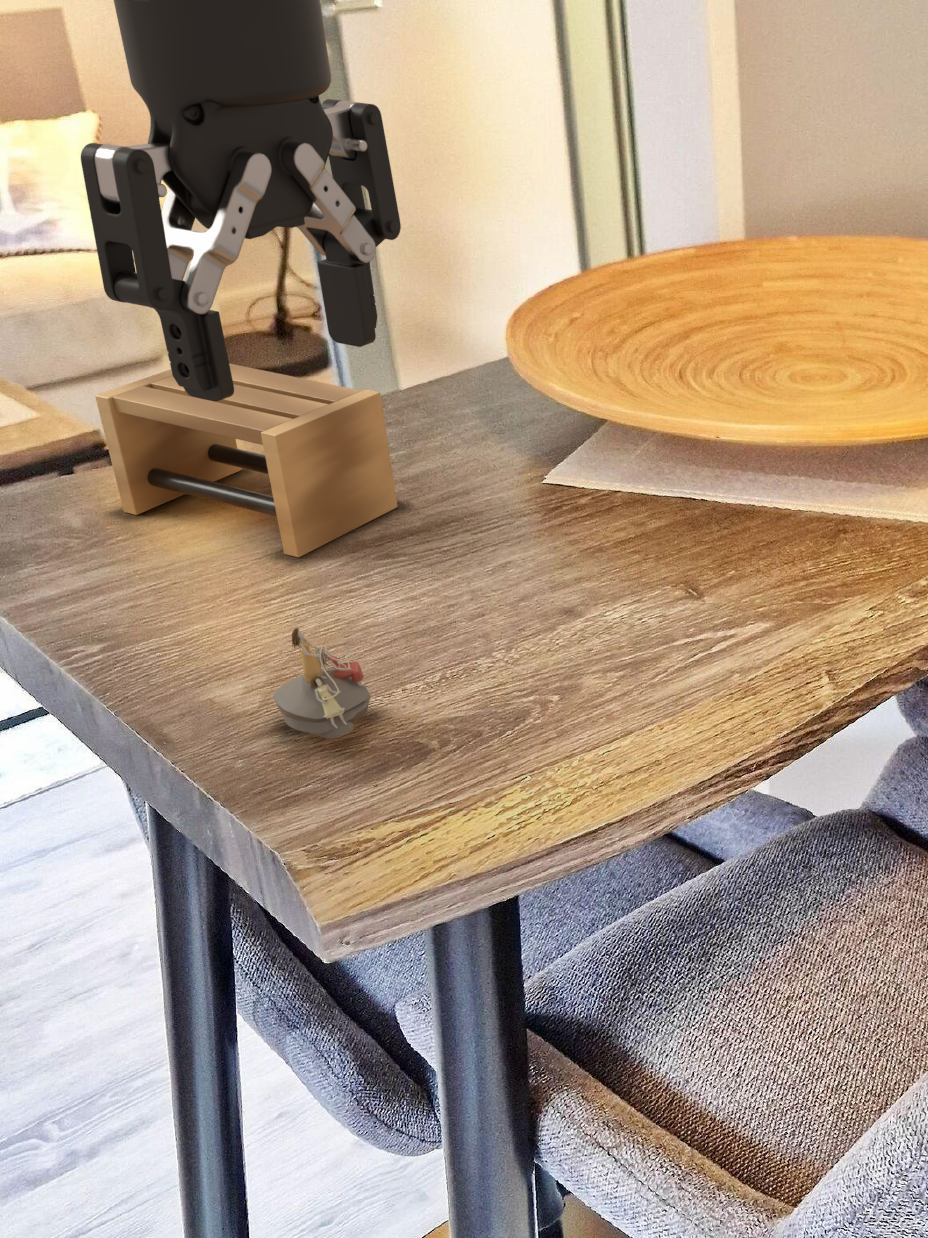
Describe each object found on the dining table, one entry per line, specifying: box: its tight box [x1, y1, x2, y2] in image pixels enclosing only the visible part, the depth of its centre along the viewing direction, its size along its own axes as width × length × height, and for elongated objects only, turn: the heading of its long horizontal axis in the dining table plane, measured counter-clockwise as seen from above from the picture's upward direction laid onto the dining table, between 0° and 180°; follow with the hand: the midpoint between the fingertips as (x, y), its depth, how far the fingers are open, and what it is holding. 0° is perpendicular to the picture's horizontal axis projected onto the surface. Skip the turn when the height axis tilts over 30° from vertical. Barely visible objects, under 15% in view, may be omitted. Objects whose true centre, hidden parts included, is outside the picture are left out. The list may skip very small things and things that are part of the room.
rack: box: [94, 362, 398, 558], centre depth 97 cm, size 9×15×8 cm, turn 65°
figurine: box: [273, 627, 371, 739], centre depth 74 cm, size 5×4×6 cm
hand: (285, 368), depth 66 cm, fingers open, 8 cm apart
